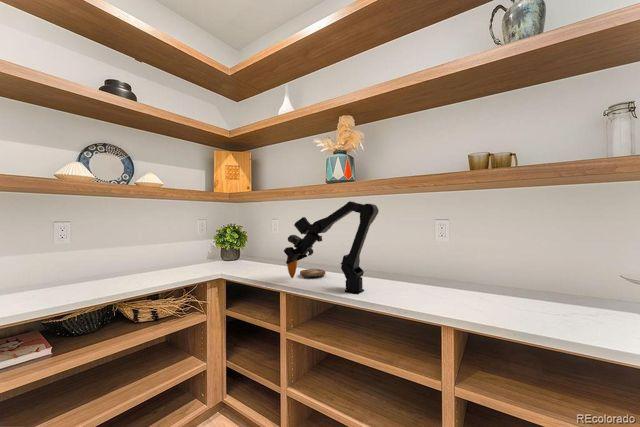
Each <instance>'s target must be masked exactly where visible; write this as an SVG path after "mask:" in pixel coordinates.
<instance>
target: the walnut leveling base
mask: <svg viewBox="0 0 640 427" xmlns="http://www.w3.org/2000/svg"><path fill="white" fill-rule="evenodd" d="M299 275H300V276H304V279H311V277H318V278H323V277H324V275H326V270H324V269H317V268H307V269H302V270H299Z"/></svg>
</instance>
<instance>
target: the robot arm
mask: <svg viewBox="0 0 640 427" xmlns="http://www.w3.org/2000/svg"><path fill="white" fill-rule="evenodd" d="M352 212H355V213H358V214H359V225H358V227H357V230H356V234H355V237H354V239H353V242H352V245H351V247H350V251H349V253H348V254H344V255H343V256H342V261H341V263H340V266H341V267H340V269H341V270H342V273H343V275H344V278H345V290H344V292H345V293H350V294H356V295H357V294H358V295H359V294H361V293H363V292H364V291H365V289H364V288H363V275H364V273H365V271H364V270H363V269H362V268H361V266H360V261H361V260H360V256H361V252H362V249H363V246H364V245H365V240H366V238H367V236H368V232H369V229H370V226H371V225H372V224H373V222H374V221H375V219H376V217H377V216H378V214H379V208H378V206H377V205H376V204H373V203H364V204H362V203H358V202H355V201H348V202H346V204H344V205H343V206H341V207H340V208H338V209H336V210H335V211H333V212H332V213H330V214H329V215H328V216H326V217H324V218H321V219H319V220H316V221H314V222H313V223H310V222H309V220H308V219H307V217H305V216H302V217H301V218H300V219H298V220H297V221H295V223H294V224H293V226H294V227H295V229H296V231H298V232H299V233H300V234H301V235H304V237H302V238H301V237H299V236H298V235H296V234H290V235H289V236H288V237H287V241H288V242H289V243H290V244H292V245H293V246H287V247H285V248H284V249H283V252H284V254H285V255H286V256H287V257H288V258H287V257H286V262H285V264H286V265H287V264H289V263H291V262H293V261H295V260H297V262H298V261H301V260H303V259H305V258H308V257H309V256H312V255H313V254H314V249H313V247H314V244H315V243H316V242H319V243H321V242H323V235H320V234H325V233H327V232H328V231H329V230H330V229H331V228H332V227H333V225H334V224H336V223H337V222H339V221H340V220H341V219H343V218H344V217H346V216H348V215H349V214H351V213H352Z"/></svg>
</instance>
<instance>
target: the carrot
mask: <svg viewBox="0 0 640 427" xmlns="http://www.w3.org/2000/svg"><path fill="white" fill-rule="evenodd" d="M287 258H288V256H287V257H286V259H287ZM297 264H298V261H297V260H295V261H293V262H291V263H289V264H286V265H287V271H288V274H289V276H290V278H291V279H293V278H295V274H296V272H297V266H298V265H297Z"/></svg>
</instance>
